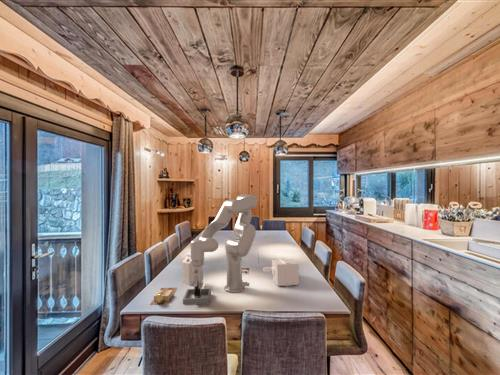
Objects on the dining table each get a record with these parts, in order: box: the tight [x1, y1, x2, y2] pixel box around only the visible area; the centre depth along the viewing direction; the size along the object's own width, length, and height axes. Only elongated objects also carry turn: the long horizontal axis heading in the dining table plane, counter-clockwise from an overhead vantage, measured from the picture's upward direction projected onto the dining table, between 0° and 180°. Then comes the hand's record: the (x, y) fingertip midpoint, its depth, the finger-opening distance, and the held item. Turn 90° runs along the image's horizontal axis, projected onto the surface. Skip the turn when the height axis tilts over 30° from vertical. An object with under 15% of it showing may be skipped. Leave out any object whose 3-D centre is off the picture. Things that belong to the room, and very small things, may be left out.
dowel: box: [193, 283, 202, 298], centre depth 147 cm, size 4×4×7 cm
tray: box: [182, 287, 212, 306], centre depth 147 cm, size 14×14×4 cm
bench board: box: [149, 287, 178, 306], centre depth 150 cm, size 10×23×1 cm, turn 4°
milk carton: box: [181, 254, 194, 286], centre depth 171 cm, size 7×7×19 cm
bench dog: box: [156, 292, 164, 306], centre depth 141 cm, size 4×4×5 cm
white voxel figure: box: [263, 258, 300, 287], centre depth 179 cm, size 15×25×28 cm
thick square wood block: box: [153, 289, 174, 301], centre depth 147 cm, size 8×8×3 cm
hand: (197, 293), depth 147 cm, fingers closed on dowel, 3 cm apart
